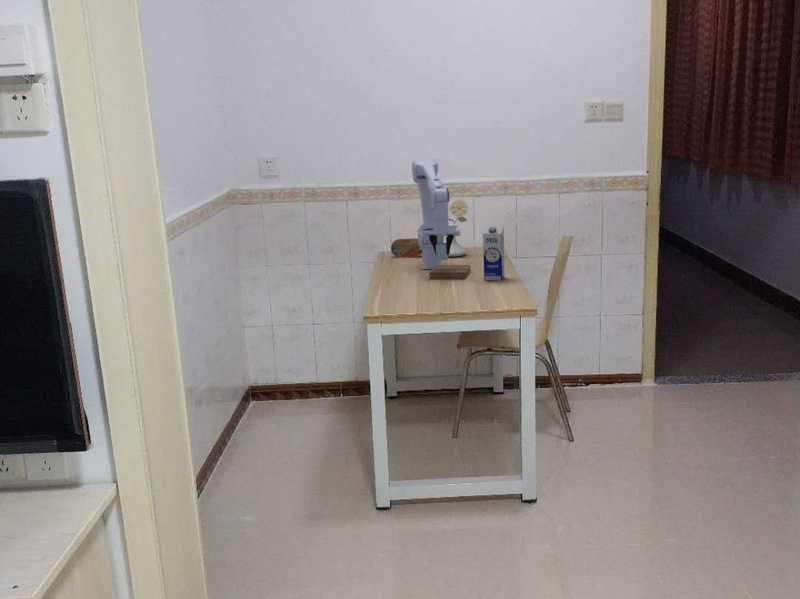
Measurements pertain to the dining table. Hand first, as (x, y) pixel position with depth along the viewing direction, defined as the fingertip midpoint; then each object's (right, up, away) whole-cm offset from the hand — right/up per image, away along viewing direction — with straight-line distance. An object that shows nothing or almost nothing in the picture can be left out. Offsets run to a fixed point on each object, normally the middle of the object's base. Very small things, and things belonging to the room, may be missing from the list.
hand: (442, 254), depth 308 cm
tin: (-13, +1, +46) cm, 47 cm away
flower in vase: (+8, +2, +42) cm, 43 cm away
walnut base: (+3, -8, +3) cm, 9 cm away
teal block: (0, -2, 0) cm, 2 cm away
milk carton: (+19, -10, -7) cm, 23 cm away
